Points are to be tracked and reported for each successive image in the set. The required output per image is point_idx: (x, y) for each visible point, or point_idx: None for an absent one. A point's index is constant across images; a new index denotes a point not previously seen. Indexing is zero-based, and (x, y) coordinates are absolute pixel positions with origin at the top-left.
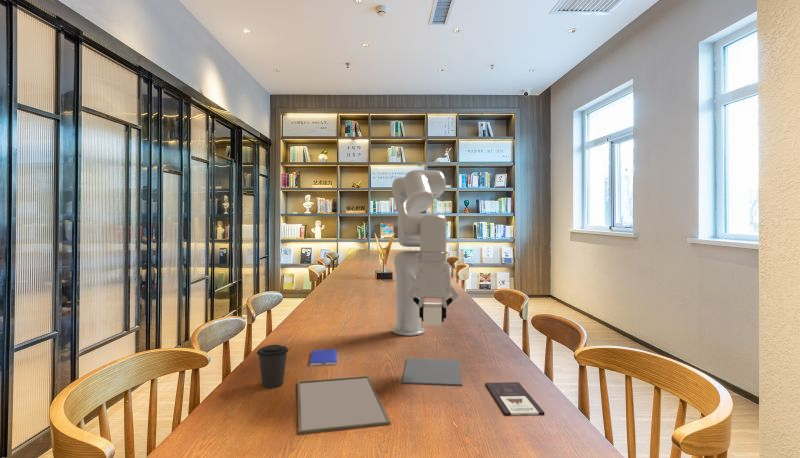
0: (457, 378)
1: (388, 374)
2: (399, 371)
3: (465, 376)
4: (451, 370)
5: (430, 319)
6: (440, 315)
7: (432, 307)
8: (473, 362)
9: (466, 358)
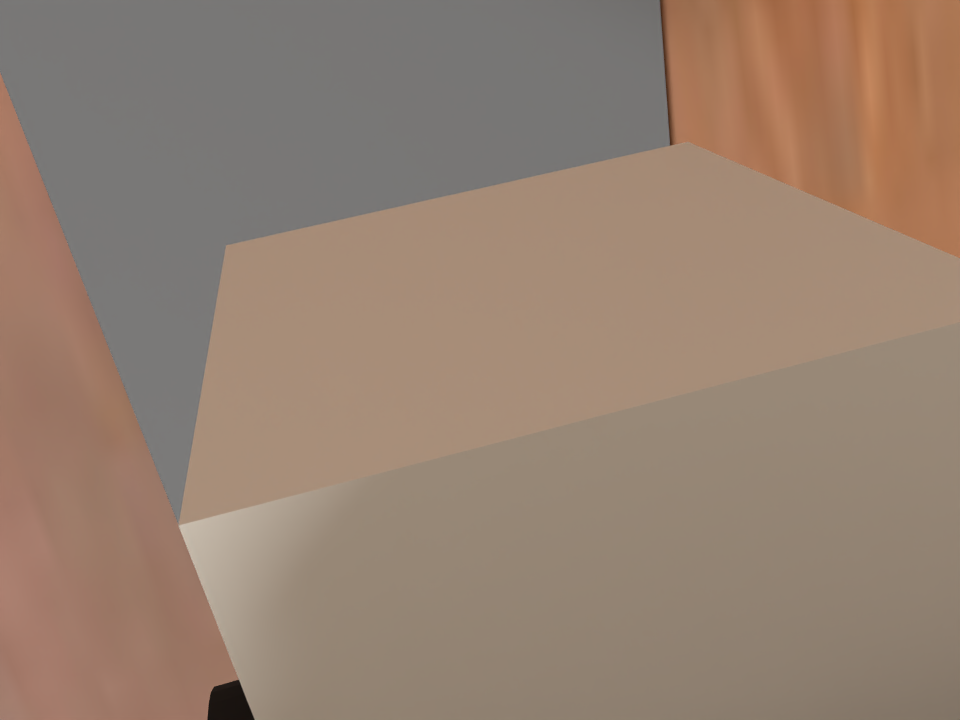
0: (53, 76)
1: (805, 18)
2: (712, 139)
3: (5, 214)
4: (196, 301)
5: (563, 222)
6: (246, 347)
7: (653, 482)
8: (59, 619)
9: (161, 687)
